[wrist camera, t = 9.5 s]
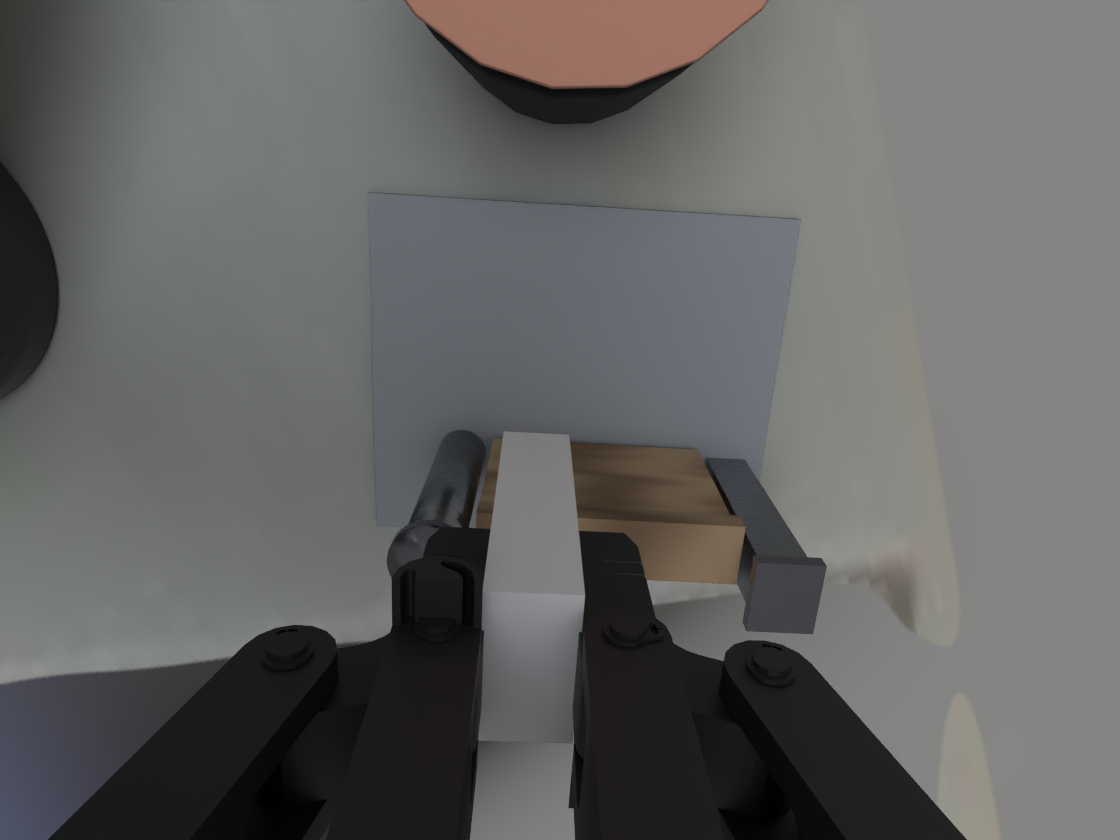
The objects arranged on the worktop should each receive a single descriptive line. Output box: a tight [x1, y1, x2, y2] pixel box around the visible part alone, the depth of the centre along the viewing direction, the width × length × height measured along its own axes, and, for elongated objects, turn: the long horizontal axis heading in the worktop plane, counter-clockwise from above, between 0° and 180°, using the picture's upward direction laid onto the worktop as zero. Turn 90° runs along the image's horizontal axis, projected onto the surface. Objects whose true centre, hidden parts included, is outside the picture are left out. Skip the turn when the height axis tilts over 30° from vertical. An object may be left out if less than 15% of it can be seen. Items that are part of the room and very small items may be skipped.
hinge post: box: [387, 430, 486, 577], centre depth 33 cm, size 3×3×12 cm
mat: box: [368, 193, 801, 528], centre depth 37 cm, size 20×17×1 cm
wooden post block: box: [476, 438, 746, 584], centre depth 34 cm, size 11×3×9 cm, turn 86°
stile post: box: [706, 458, 827, 634], centre depth 34 cm, size 3×3×12 cm
